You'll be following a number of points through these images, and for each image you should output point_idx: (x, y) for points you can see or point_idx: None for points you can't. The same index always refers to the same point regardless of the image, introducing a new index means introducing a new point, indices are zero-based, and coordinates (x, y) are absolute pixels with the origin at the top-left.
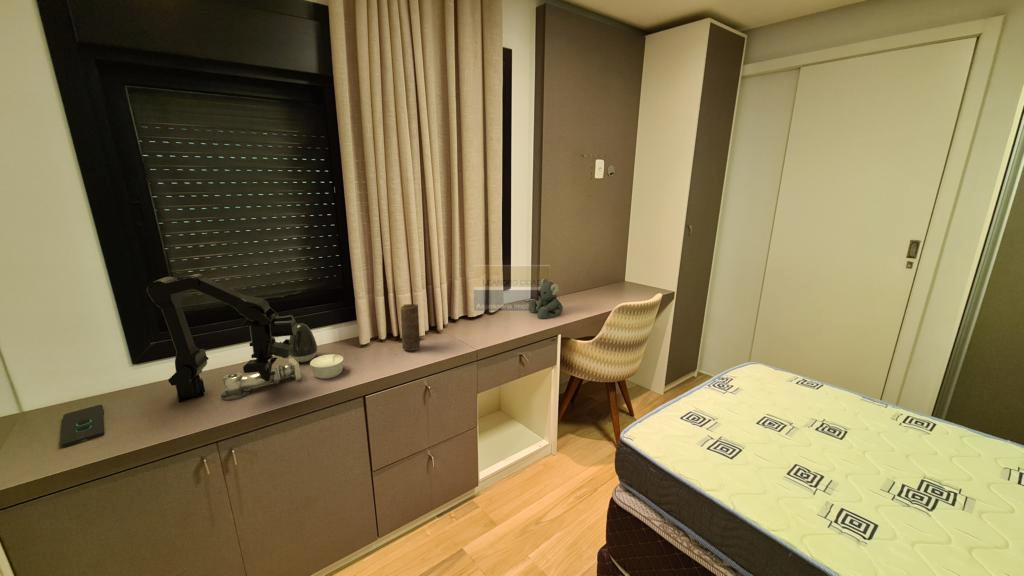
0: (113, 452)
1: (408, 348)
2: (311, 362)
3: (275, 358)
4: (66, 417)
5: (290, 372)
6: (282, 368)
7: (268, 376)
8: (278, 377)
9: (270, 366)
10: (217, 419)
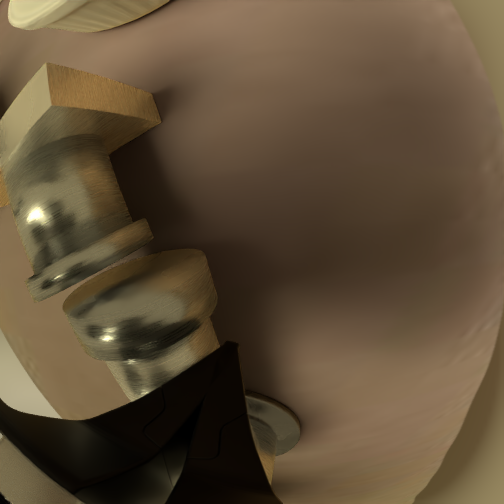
0: (412, 495)
1: None
2: (52, 1)
3: (1, 432)
4: None
5: (100, 164)
6: (65, 248)
7: (240, 380)
8: (198, 269)
9: (163, 451)
10: (436, 428)
